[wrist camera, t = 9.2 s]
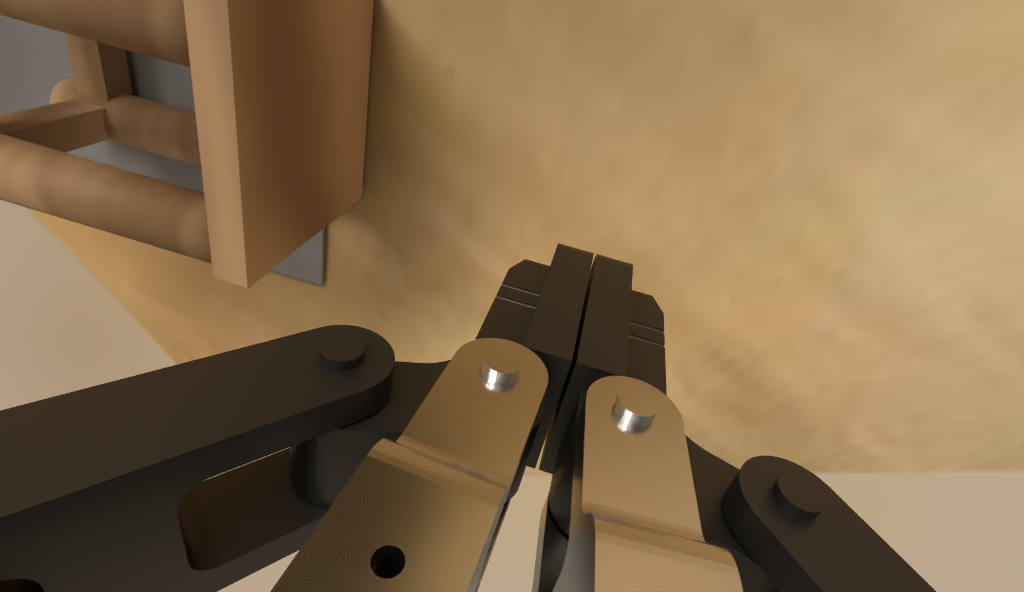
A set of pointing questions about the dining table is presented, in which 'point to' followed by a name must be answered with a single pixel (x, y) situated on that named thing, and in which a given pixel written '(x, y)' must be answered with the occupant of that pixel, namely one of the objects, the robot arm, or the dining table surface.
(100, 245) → the dining table surface
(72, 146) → the wooden dowel frame
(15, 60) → the mat
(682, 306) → the dining table surface
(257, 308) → the dining table surface
